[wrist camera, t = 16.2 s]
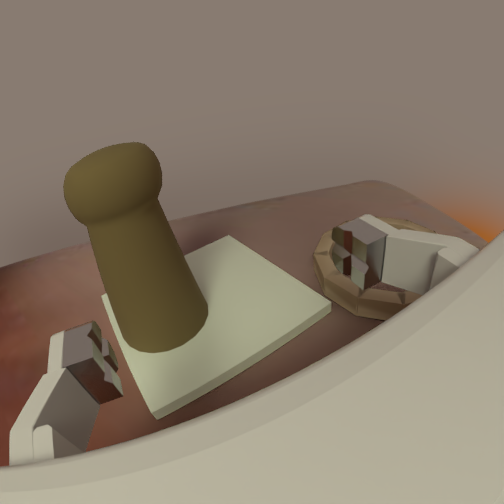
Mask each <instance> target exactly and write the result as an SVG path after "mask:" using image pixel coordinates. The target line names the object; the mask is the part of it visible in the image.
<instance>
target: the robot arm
mask: <svg viewBox="0 0 504 504" xmlns="http://www.w3.org/2000/svg"><path fill="white" fill-rule="evenodd" d="M332 240H333V241H334V243H335V245H334V247H333V249H332V259H333V262H334V265H335V266H336V268H337V269H338V270H339V271H340V272H341V273H342V274H345V275H350V277H351V281H352V282H353V283H355V284H356V285H357V286H359V287H360V288H361V289H362V290H365V289H367V288H369V287H371V286H373V285H375V284H377V283H379V282H380V281H382V282H383V283H386V284H389V285H392V286H395V287H398V288H401V289H404V290H408V291H411V292H414V293H417V294H420V295H423V296H421V297H420V298H418V299H417V300H416V301H414V302H413V303H411V304H410V305H408V306H407V307H406V308H404V309H403V310H401V311H400V312H398V313H397V314H395V315H394V316H392V317H391V318H389V319H388V320H386V321H385V322H383V323H381V324H380V325H378V326H377V327H375V328H374V329H372V330H370V331H369V332H367V333H366V334H364V335H362V336H361V337H359V338H357V339H356V340H354V341H352V342H351V343H349V344H347V345H346V346H344V347H342V348H341V349H339V350H337V351H335V352H334V353H332V354H330V355H328V356H326V357H325V358H323V359H321V360H319V361H317V362H316V363H314V364H312V365H310V366H308V367H306V368H304V369H302V370H301V371H299V372H297V373H295V374H293V375H291V376H289V377H287V378H285V379H283V380H281V381H279V382H277V383H275V384H273V385H271V386H268V387H266V388H264V389H262V390H260V391H258V392H256V393H254V394H251V395H249V396H247V397H245V398H242V399H240V400H238V401H236V402H233V403H231V404H229V405H226V406H224V407H222V408H219V409H217V410H214V411H212V412H209V413H207V414H204V415H202V416H199V417H197V418H194V419H191V420H189V421H186V422H183V423H181V424H178V425H175V426H172V427H169V428H167V429H164V430H161V431H158V432H155V433H152V434H149V435H146V436H142V437H139V438H136V439H133V440H129V441H126V442H122V443H119V444H115V445H112V446H108V447H104V448H100V449H97V450H93V451H88V452H86V448H87V445H88V442H89V438H90V435H91V432H92V429H93V426H94V423H95V420H96V417H97V414H98V411H99V408H100V404H103V403H106V402H109V401H111V400H114V399H117V398H120V397H122V396H123V391H122V386H121V380H120V378H119V377H118V375H117V374H116V372H117V370H118V362H117V359H116V356H115V353H114V351H113V349H112V347H111V345H110V343H109V342H108V340H106V339H104V338H102V336H101V329H100V328H99V326H98V325H97V323H96V322H95V321H90V322H87V323H84V324H81V325H78V326H76V327H73V328H70V329H67V330H65V331H61V332H59V333H56V334H53V335H52V336H51V339H50V348H49V359H48V373H47V374H44V375H43V377H42V378H41V380H40V381H39V383H38V385H37V386H36V388H35V389H34V391H33V393H32V394H31V396H30V398H29V399H28V401H27V403H26V404H25V406H24V408H23V410H22V411H21V413H20V415H19V417H18V418H17V420H16V422H15V424H14V425H13V427H12V429H11V431H10V466H3V467H0V504H504V230H503V231H502V232H501V233H500V234H499V235H498V236H496V237H495V238H494V239H493V240H492V241H491V242H490V243H488V244H487V245H486V246H485V247H484V248H483V249H482V250H479V249H478V248H476V247H474V246H473V245H471V244H469V243H467V242H466V241H464V240H462V239H460V238H459V237H454V236H447V235H441V234H434V233H427V232H421V231H414V230H406V229H400V230H398V229H396V228H394V227H392V226H391V225H389V224H387V223H385V222H383V221H381V220H379V219H378V218H376V217H374V216H372V215H370V214H365V215H363V216H360V217H358V218H356V219H354V220H352V221H349V222H347V223H345V224H342V225H340V226H337V227H335V228H333V230H332Z"/></svg>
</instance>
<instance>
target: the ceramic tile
mask: <svg viewBox="0 0 504 504" xmlns="http://www.w3.org/2000/svg"><path fill="white" fill-rule="evenodd" d="M184 257H185V260H186V262H187V264H188V266H189V268H190V270H191V272H192V274H193V276H194V278H195V280H196V282H197V284H198V286H199V288H200V290H201V292H202V294H203V296H204V298H205V300H206V302H207V304H208V317H207V319H206V322H205V325H204V326H203V327H202V329H201V330H200V331H199V332H198V334H197V335H196V336H195V337H194V338H192V339H191V340H189V341H188V342H187V343H185V344H184V345H182V346H180V347H177V348H175V349H172V350H170V351H166V352H159V353H146V352H139V351H137V350H136V349H134V348H132V347H130V346H129V345H128V344H127V343H126V341H125V340H124V339H123V337H122V334H121V331H120V329H119V326H118V324H117V321H116V318H115V316H114V313H113V310H112V307H111V305H110V302H109V299H108V296H107V293H106V294H104V295H102V299H103V302H104V305H105V308H106V311H107V313H108V316H109V319H110V322H111V324H112V327H113V329H114V332H115V334H116V337H117V340H118V342H119V344H120V347H121V349H122V352H123V354H124V356H125V359H126V361H127V363H128V366H129V368H130V370H131V372H132V374H133V377H134V379H135V381H136V383H137V385H138V387H139V389H140V392H141V394H142V396H143V398H144V400H145V402H146V404H147V406H148V408H149V410H150V412H151V413H152V414H153V416H154V417H155V418H156V419H157V420H158V419H160V418H162V417H164V416H166V415H168V414H170V413H172V412H174V411H175V410H177V409H179V408H181V407H183V406H185V405H186V404H188V403H190V402H192V401H194V400H195V399H197V398H199V397H201V396H202V395H204V394H206V393H208V392H209V391H211V390H213V389H214V388H216V387H218V386H220V385H221V384H223V383H225V382H226V381H228V380H230V379H231V378H233V377H234V376H236V375H238V374H239V373H241V372H243V371H244V370H246V369H247V368H249V367H251V366H252V365H254V364H255V363H257V362H258V361H260V360H261V359H263V358H265V357H266V356H268V355H269V354H271V353H272V352H274V351H275V350H277V349H278V348H280V347H281V346H283V345H284V344H286V343H287V342H289V341H290V340H292V339H293V338H295V337H296V336H297V335H299V334H300V333H302V332H303V331H305V330H306V329H307V328H309V327H310V326H312V325H313V324H315V323H316V322H317V321H319V320H320V319H322V318H323V317H324V316H326V315H327V314H328V313H330V312H331V302H330V301H329V300H327V299H326V298H324V297H323V296H321V295H320V294H318V293H317V292H315V291H314V290H312V289H311V288H309V287H308V286H306V285H305V284H303V283H301V282H300V281H298V280H297V279H295V278H294V277H292V276H291V275H289V274H288V273H286V272H285V271H283V270H282V269H280V268H279V267H277V266H276V265H274V264H272V263H271V262H269V261H268V260H266V259H265V258H263V257H262V256H260V255H259V254H257V253H256V252H254V251H253V250H251V249H250V248H248V247H246V246H245V245H243V244H242V243H240V242H239V241H237V240H236V239H234V238H233V237H231V236H230V235H227V236H225V237H223V238H221V239H219V240H217V241H215V242H212V243H210V244H208V245H206V246H204V247H202V248H200V249H197V250H195V251H193V252H191V253H189V254H187V255H185V256H184Z"/></svg>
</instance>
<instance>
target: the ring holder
mask: <svg viewBox="0 0 504 504" xmlns="http://www.w3.org/2000/svg"><path fill="white" fill-rule="evenodd" d="M376 218H378V219H379V220H381V221H383V222H385V223H387V224H389V225H391V226H392V227H394V228H396V229H398V230H400V229H406V230H414V231H421V232H427V233H434V234H437V233H436V232H435V231H432V230H430V229H428V228H425V227H423V226H420V225H418V224H415V223H413V222H411V221H408V220H402V219H393V218H384V217H376ZM350 221H352V220H350ZM347 222H349V221H345V222H344V223H342V224H345V223H347ZM342 224H340V225H342ZM340 225H338V226H340ZM336 227H337V226H336ZM332 230H333V229H331V230H329V231H327V232H326V233H324V234H323V235H322V237H321V239H320V241H319V243H318V245H317V248H316V250H315V252H314V253H313V258H314V271H315V274H316V276H317V279H318V281H319V283H320V286H321V288H322V291H323V293H324V295H325V296H326V297H328V298H330V299H331V300H333V301H334V302H336V303H337V304H339V305H340V306H342V307H343V308H345V309H347V310H348V311H350V312H351V313H353V314H354V315H355V316H361V317H367V318H374V319H380V320H388V319H389V318H391V317H392V316H394V315H395V314H397V313H398V312H400V311H401V310H403V309H404V308H406V307H407V306H408V305H410V304H411V303H413V302H414V301H416V300H417V299H418V298H420V297H421V296H423V295H420V294H417V293H414V292H411V291H404V292H394V291H387V290H380V289H373V288H367V289H365V290H362V289H361V288H360V287H359V286H357V285H356V284H355V283H353V282H352V281H351V279H350V278H348V277H346V276H344V275H342V274H341V273H339V272H338V271H337V269H336V267H335V265H334V263H333V261H332V260H333V259H332V249H333V247H334V245H335V243H334V241H333V240H332Z"/></svg>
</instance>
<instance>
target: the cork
mask: <svg viewBox="0 0 504 504" xmlns="http://www.w3.org/2000/svg"><path fill="white" fill-rule="evenodd" d="M161 186H162V171H161V167H160V163H159V161H158V159H157V157H156V155H155V153H154V152H153V151H152V150H151V149H150V148H149V147H147V146H146V145H145V144H142V143H138V142H137V143H136V142H132V143H122V144H117V145H112V146H108V147H105V148H102V149H100V150H97V151H95V152H93V153H91V154H89V155H87V156H86V157H84V158H83V159H81V160H80V161H79V162H77V163H76V164H74V165H73V166H72V167H71V168H70V169H69V171H68V172H67V174H66V176H65V180H64V186H63V188H64V197H65V200H66V203H67V205H68V208H69V209H70V211H71V212H72V214H73V215H74V217H75V218H76V219H77V220H78V221H79V222H81V223H82V224H84V225H86V226H87V229H88V233H89V237H90V241H91V244H92V248H93V251H94V255H95V258H96V262H97V265H98V268H99V271H100V275H101V278H102V281H103V284H104V287H105V290H106V293H107V296H108V299H109V302H110V305H111V307H112V310H113V313H114V316H115V318H116V321H117V324H118V326H119V329H120V331H121V334H122V337H123V339H124V340H125V341H126V343H127V344H128V345H129V346H130V347H132V348H134V349H136V350H137V351H139V352H146V353H159V352H166V351H170V350H172V349H175V348H177V347H180V346H182V345H184V344H185V343H187V342H188V341H189V340H191V339H192V338H194V337H195V336H196V335H197V334H198V332H199V331H200V330H201V329H202V327H203V326H204V325H205V322H206V319H207V317H208V304H207V302H206V300H205V298H204V296H203V294H202V292H201V290H200V288H199V286H198V284H197V282H196V280H195V278H194V276H193V274H192V272H191V270H190V268H189V266H188V264H187V262H186V260H185V257H184V255H183V253H182V251H181V249H180V247H179V245H178V243H177V240H176V238H175V236H174V234H173V232H172V230H171V227H170V225H169V223H168V221H167V219H166V216H165V214H164V212H163V210H162V208H161V205H160V203H159V201H158V195H159V192H160V189H161Z"/></svg>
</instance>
